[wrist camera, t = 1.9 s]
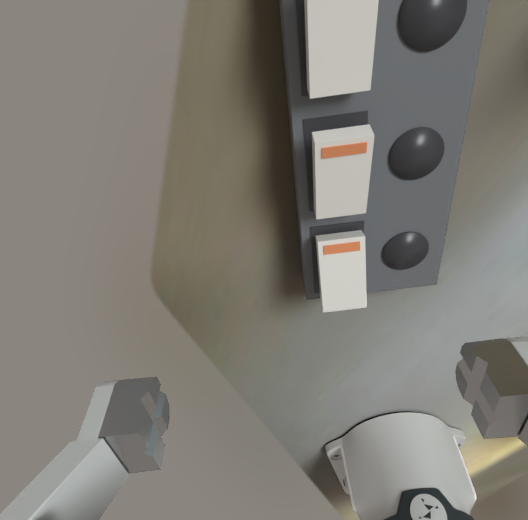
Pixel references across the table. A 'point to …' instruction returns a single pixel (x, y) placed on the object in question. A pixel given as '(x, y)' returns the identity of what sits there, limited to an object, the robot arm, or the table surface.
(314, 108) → the grey rocker switch panel
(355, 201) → the rocker middle
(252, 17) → the table surface
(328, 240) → the rocker
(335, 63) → the rocker
